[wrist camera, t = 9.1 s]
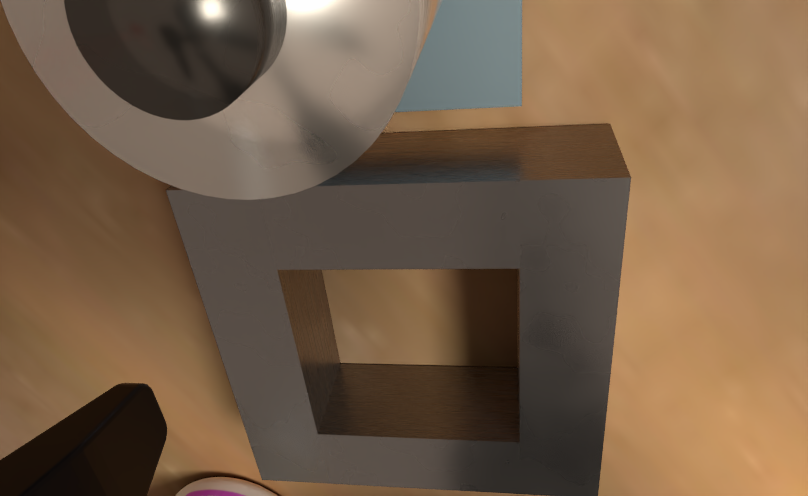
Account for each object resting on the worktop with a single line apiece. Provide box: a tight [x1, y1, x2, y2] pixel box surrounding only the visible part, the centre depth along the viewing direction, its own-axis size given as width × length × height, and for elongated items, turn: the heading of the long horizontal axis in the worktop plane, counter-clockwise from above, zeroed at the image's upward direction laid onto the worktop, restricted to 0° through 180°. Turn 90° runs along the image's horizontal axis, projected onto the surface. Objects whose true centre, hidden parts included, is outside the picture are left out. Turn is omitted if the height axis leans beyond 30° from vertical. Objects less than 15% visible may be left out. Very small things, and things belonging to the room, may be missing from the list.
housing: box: [166, 124, 631, 496], centre depth 20 cm, size 12×12×4 cm
